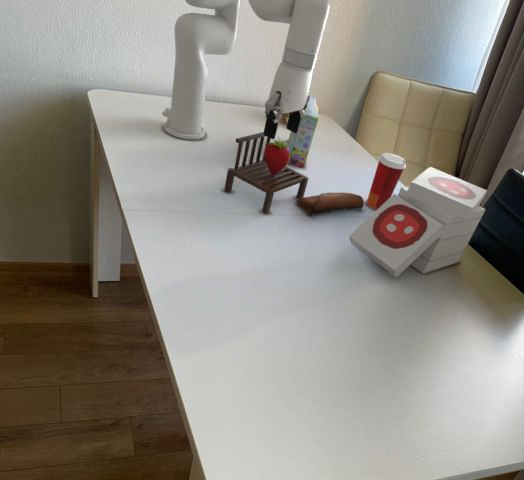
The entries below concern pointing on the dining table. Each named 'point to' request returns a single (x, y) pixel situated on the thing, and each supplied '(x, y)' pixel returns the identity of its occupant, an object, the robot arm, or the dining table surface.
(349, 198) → the sunglasses case
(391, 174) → the paper cup
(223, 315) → the dining table surface
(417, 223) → the pizza boxes
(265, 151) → the strawberry
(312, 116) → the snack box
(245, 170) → the miniature wooden chair
